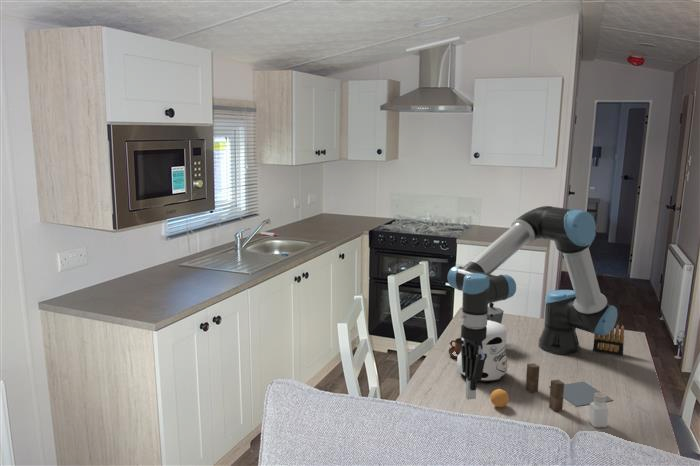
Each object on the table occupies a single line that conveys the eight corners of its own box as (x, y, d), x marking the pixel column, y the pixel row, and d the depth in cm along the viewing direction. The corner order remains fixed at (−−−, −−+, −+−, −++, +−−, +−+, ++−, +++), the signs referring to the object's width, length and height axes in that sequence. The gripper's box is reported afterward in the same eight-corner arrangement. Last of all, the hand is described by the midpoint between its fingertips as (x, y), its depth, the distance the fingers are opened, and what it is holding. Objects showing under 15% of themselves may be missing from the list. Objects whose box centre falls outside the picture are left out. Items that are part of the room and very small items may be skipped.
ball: (502, 401, 180) (503, 385, 179) (511, 409, 175) (512, 392, 174) (487, 403, 179) (487, 387, 178) (496, 411, 174) (496, 395, 173)
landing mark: (583, 381, 194) (583, 381, 194) (613, 400, 180) (613, 400, 180) (548, 387, 190) (548, 386, 190) (575, 406, 177) (576, 406, 177)
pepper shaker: (600, 421, 168) (603, 391, 166) (607, 428, 164) (610, 397, 162) (587, 421, 168) (590, 391, 166) (593, 428, 164) (596, 398, 162)
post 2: (556, 406, 177) (558, 379, 175) (562, 410, 174) (564, 383, 173) (549, 407, 176) (550, 380, 175) (554, 411, 174) (556, 384, 172)
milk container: (514, 385, 191) (516, 335, 188) (464, 386, 190) (466, 336, 187) (497, 364, 208) (499, 317, 205) (451, 365, 207) (453, 319, 204)
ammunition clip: (622, 354, 217) (625, 324, 215) (622, 355, 216) (625, 326, 213) (592, 349, 222) (595, 320, 219) (592, 351, 220) (595, 322, 218)
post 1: (532, 388, 189) (534, 363, 187) (537, 391, 186) (539, 366, 185) (525, 389, 188) (527, 364, 187) (530, 393, 186) (532, 367, 184)
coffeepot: (502, 353, 218) (504, 309, 215) (477, 351, 220) (479, 307, 217) (501, 339, 233) (503, 297, 230) (477, 337, 235) (479, 295, 232)
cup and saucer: (445, 360, 213) (446, 344, 211) (451, 348, 224) (452, 333, 222) (477, 364, 208) (478, 349, 207) (482, 352, 219) (482, 337, 218)
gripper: (452, 319, 174) (450, 390, 178) (473, 333, 162) (469, 409, 166) (474, 317, 176) (471, 387, 180) (496, 331, 164) (492, 406, 168)
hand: (470, 397), depth 173 cm, fingers closed
